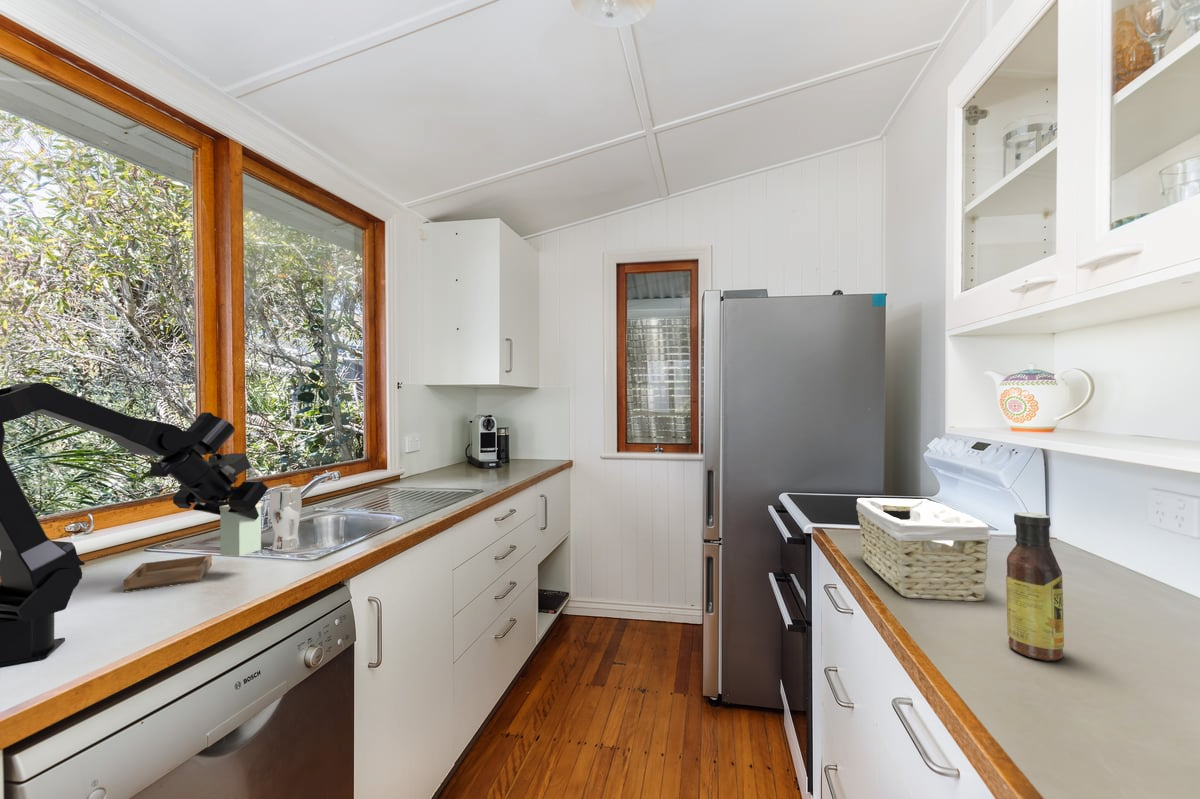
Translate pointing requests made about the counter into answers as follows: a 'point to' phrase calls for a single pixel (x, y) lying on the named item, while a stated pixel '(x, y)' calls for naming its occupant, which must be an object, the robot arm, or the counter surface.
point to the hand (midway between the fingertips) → (246, 517)
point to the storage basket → (925, 548)
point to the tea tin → (239, 532)
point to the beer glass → (285, 517)
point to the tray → (168, 573)
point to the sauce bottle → (1034, 591)
